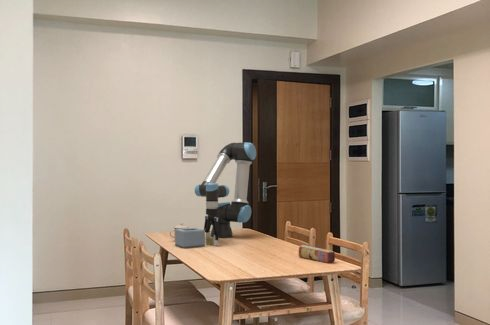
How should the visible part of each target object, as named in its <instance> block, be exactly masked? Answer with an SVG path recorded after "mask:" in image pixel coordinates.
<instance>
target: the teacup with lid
mask: <svg viewBox="0 0 490 325" xmlns="http://www.w3.org/2000/svg"><path fill="white" fill-rule="evenodd" d="M184 228H189V226H187V225H185V224H184V223H183V222H179V224H177V225H176V226H174V228H173V229H172V230H170V231H169V236H170V237H171V238H173V239H175V236H172V234H171V233H172V232H175V229H184Z"/></svg>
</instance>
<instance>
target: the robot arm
mask: <svg viewBox="0 0 490 325" xmlns="http://www.w3.org/2000/svg"><path fill="white" fill-rule="evenodd" d="M256 158H257V150H256V146H255V145H254V144H253V143H252V142H247V141H246V142H231V143H228V144H226V145H225V146H224V147H223V148H221V150H220V151H219V152H218V154H217V155H216V160H215V162H214V163H213V165H212V166H211V168H210V169H209V171H208V173H207V175H205V177H204V180H203V181H202V183H201V184H197V185H195V187H194V194H195V195H196V196H197V197H203V198H204V197H205V207H206V208H205V214H206V215H205V216H204V226H203V230H205V239H206V238H207V237H214V245H213V246H214V247H216V246H219V239H220V238H221V239H224V238H231V237H233V236H234V235H233V231H232V227H231V223H247V222H248V221H249V220H250V218H251V216H252V207H251V206H250V205H249V201H248V199H247V198H248V187H249V177H250V176H249V175H250V165H252V164H253V161H254V160H255V159H256ZM232 160H234V162H235V163H236V169H235V170H236V174H235V184H234V192H233V193H234V194H233V200H231V202H230V201H226V202H219V198H225V197H228V196H229V194H230V188H229V187H228V185H226V184H225V185H224V184H222V185H219V183H217V181H218V180H219V177H221V175H222V173H223V171H224V170H225V169H226V166H227V165H228V164H229V163H231V161H232Z"/></svg>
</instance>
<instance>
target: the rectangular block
mask: <svg viewBox="0 0 490 325" xmlns="http://www.w3.org/2000/svg"><path fill="white" fill-rule="evenodd" d="M205 246H214V237H211V236H210V237H207V238H206V237H205Z"/></svg>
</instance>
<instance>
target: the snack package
mask: <svg viewBox="0 0 490 325" xmlns="http://www.w3.org/2000/svg"><path fill="white" fill-rule="evenodd" d="M335 253H336V252H335V251H333V250H331V249H326V248H325V249H324V248H321V247H314V246H310V245H307V244H306V245H305V244H302V245H299V247H298V257H299V258H301V257H302V259H307V260H311V261H316V262H321V263H324V264H325V263H326V264H332V263H334V262H335V260H336V254H335Z"/></svg>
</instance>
